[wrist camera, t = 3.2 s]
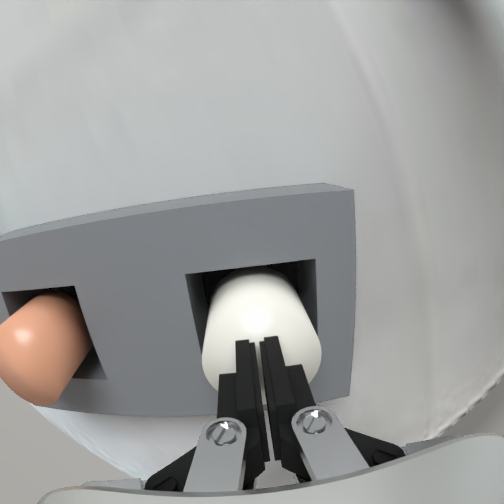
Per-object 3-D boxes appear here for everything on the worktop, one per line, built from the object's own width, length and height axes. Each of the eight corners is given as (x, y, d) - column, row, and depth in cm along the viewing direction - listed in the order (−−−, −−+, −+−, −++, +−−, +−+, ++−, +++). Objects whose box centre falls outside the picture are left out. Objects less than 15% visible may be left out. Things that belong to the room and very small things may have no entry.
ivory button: (296, 260, 16) (321, 301, 11) (300, 339, 17) (320, 395, 12) (203, 271, 16) (191, 316, 11) (217, 349, 17) (213, 409, 12)
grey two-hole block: (323, 182, 18) (353, 189, 13) (328, 352, 21) (348, 395, 17) (14, 230, 18) (-29, 248, 13) (59, 368, 21) (34, 405, 16)
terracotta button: (80, 286, 15) (35, 328, 11) (104, 357, 17) (73, 410, 12) (23, 291, 15) (-24, 327, 10) (47, 356, 17) (12, 400, 12)
